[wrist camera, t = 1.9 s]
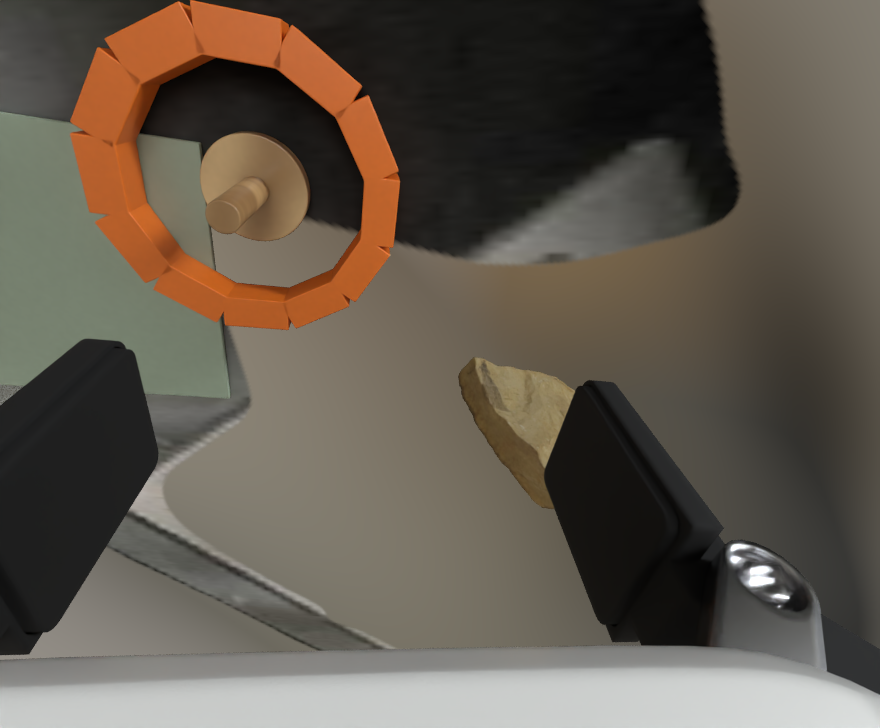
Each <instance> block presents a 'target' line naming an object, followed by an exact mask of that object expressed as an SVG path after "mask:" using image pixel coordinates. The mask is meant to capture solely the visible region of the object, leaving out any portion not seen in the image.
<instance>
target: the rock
mask: <svg viewBox="0 0 880 728" xmlns="http://www.w3.org/2000/svg"><path fill="white" fill-rule="evenodd" d="M458 378H459V385H460V387H461V390H462V391H461V393H462V396H463V399H464V401H465V402H466V404H467V405H468V407H469V410H470V411H471V413H472V415H473V417H474V421H475V423H476V425H477V426H478V428H479V429H480V431H481V432H482V433H483V435H484V436H485V438H486V439H487V442H488V443H489V445H490V446H491V447H492V448H493V450H494V452H495V454H496V455H497V457H498V458H499V460H500V461H501V462H502V463H503V464H504V465H505V466H506V467H507V468H508V469H509V470H510V472H511V473H512V474H513V475H514V477H515V478H516V479H517V481H518V482H519V484H520V485H521V486H522V488H523V489H524V490H525V491H526V492H527V493H528V495H529V496H530V497H531V499H532V500H533V501H534V502H535V503H536V504H538V505H540V506H541V507H542V508H548V509H554V506H553V503H552V501H551V498H550V496H549V493H548V491H547V488H546V485H545V482H544V471H545V467H546V465H547V462H548V460H549V457H550V454H551V452H552V449H553V447H554V444H555V442H556V439H557V436H558V434H559V431H560V429H561V426H562V424H563V421H564V419H565V416H566V413H567V411H568V408H569V406H570V403H571V401H572V398H573V395H574V393H575V391H574V390H573V389H571V388H570V387H568V386H566V384H565V383H564V382H562V381H560V380H558V378H557V377H554V376H549V375H546V374H543V373H541V372H538V371H537V372H534V371H531V370H521V369H516V368H515V367H510V366H496V365H494V364H493V363H491V362H488V361H487V360H485V359H483V358H477V357H474V358H473V359H472V360H471V361H470V362H469V363H468V364H467V365H466V366H465V367H464V368H463V369H462V370H461V372H460V373H459V377H458Z"/></svg>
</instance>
